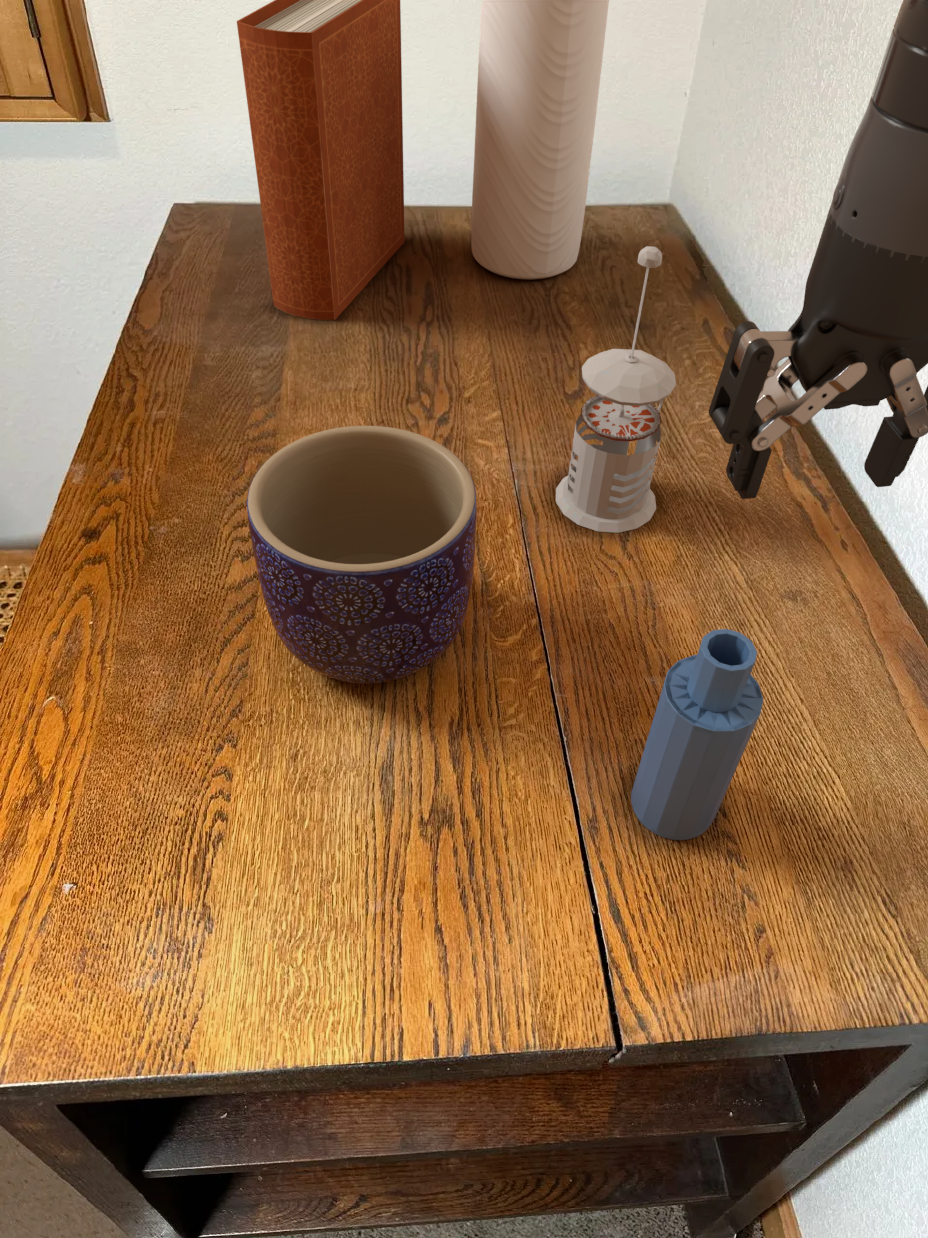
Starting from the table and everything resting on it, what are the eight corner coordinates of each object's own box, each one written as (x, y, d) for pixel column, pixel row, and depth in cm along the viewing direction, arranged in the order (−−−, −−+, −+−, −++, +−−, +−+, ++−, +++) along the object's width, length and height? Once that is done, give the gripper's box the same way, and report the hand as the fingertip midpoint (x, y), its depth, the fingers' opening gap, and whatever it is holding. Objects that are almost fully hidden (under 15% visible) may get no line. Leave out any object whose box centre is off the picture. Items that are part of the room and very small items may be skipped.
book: (348, 230, 127) (332, -32, 105) (404, 241, 125) (399, -23, 103) (269, 310, 112) (230, 23, 90) (331, 323, 110) (307, 35, 88)
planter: (433, 544, 85) (434, 406, 74) (500, 678, 74) (513, 541, 64) (252, 586, 81) (224, 446, 70) (296, 734, 70) (273, 597, 59)
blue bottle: (721, 783, 68) (787, 628, 56) (706, 852, 65) (773, 702, 52) (641, 757, 70) (688, 600, 57) (622, 823, 66) (667, 671, 53)
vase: (582, 285, 118) (620, -5, 95) (469, 281, 118) (480, -11, 95) (574, 234, 128) (607, -41, 105) (470, 230, 128) (480, -46, 105)
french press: (535, 503, 89) (563, 250, 71) (598, 446, 96) (640, 200, 77) (623, 547, 85) (678, 292, 67) (683, 485, 92) (748, 236, 73)
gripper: (804, 259, 40) (718, 537, 52) (1099, 242, 42) (951, 514, 54) (741, 186, 45) (676, 455, 57) (1007, 174, 47) (890, 437, 59)
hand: (810, 484), depth 56 cm, fingers open, 8 cm apart
